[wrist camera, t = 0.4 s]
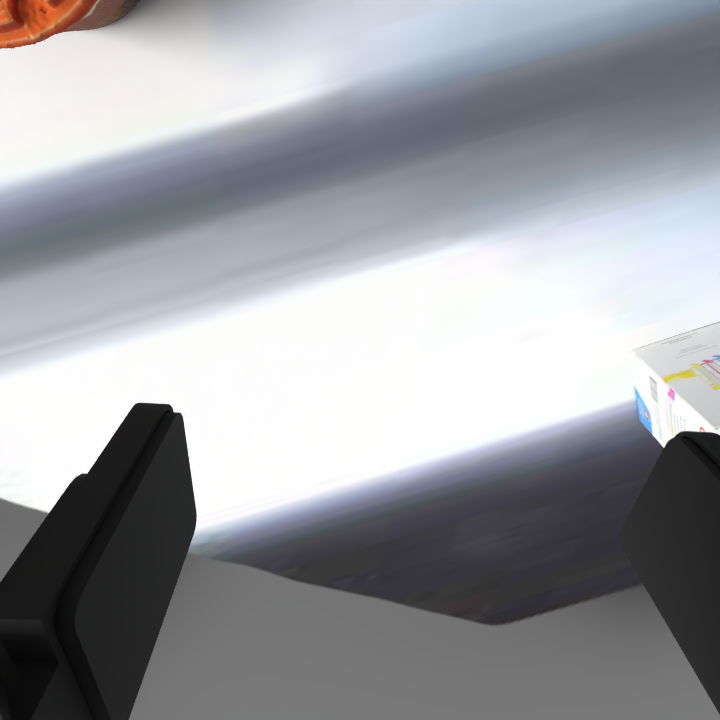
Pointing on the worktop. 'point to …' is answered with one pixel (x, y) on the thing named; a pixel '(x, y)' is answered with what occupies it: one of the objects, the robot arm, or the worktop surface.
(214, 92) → the worktop surface
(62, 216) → the worktop surface
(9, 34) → the food container
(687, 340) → the ink box
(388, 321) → the worktop surface
